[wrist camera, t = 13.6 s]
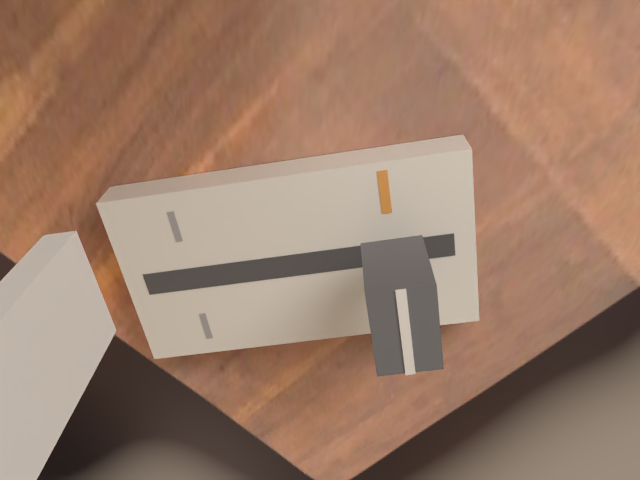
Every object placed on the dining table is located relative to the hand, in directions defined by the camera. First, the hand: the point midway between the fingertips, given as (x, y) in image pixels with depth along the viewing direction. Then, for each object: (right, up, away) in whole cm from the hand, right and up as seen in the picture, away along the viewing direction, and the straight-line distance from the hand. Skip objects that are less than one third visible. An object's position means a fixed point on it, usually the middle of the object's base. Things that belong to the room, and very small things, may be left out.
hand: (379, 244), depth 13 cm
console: (-3, 0, +33) cm, 33 cm away
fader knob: (+4, -1, +29) cm, 29 cm away
